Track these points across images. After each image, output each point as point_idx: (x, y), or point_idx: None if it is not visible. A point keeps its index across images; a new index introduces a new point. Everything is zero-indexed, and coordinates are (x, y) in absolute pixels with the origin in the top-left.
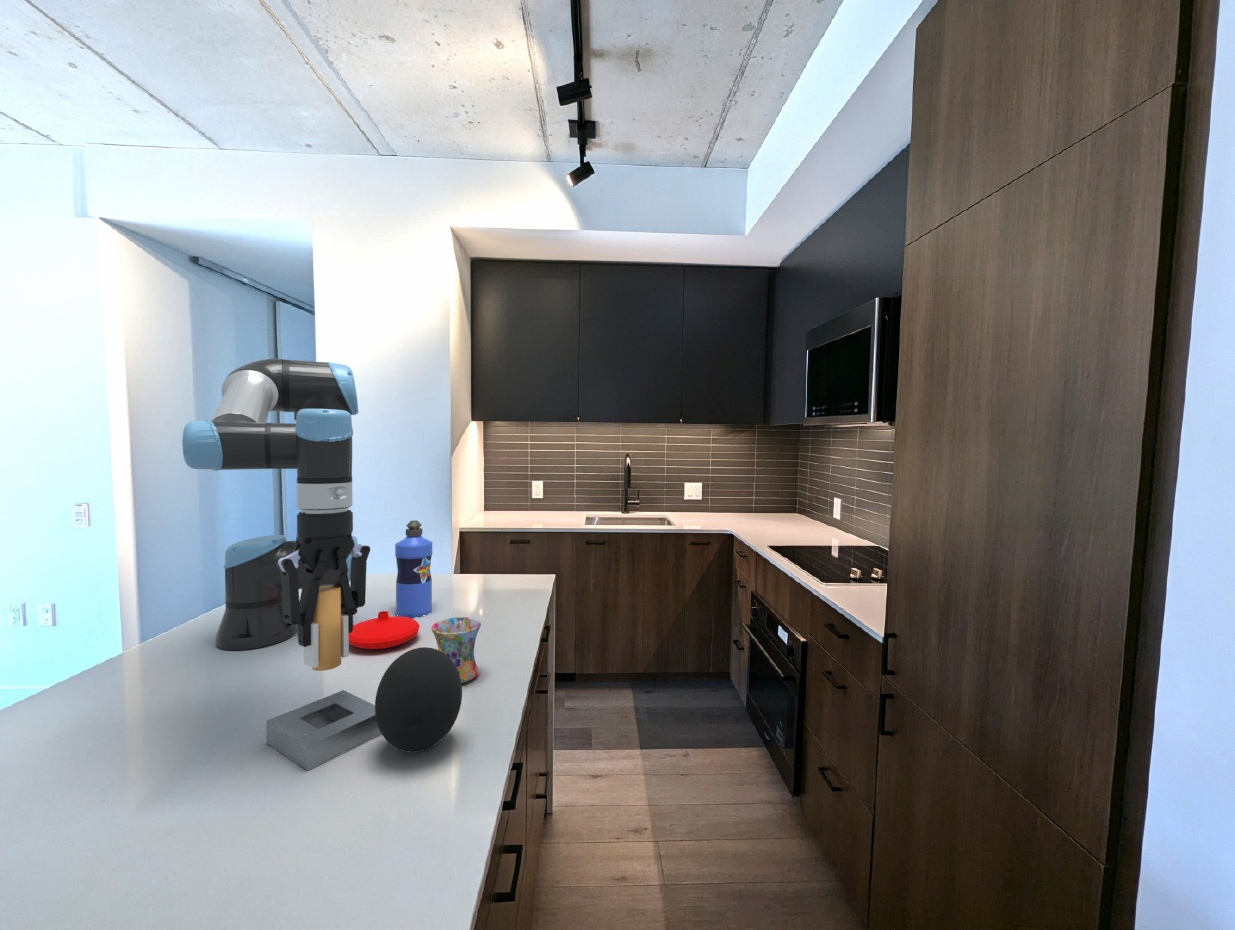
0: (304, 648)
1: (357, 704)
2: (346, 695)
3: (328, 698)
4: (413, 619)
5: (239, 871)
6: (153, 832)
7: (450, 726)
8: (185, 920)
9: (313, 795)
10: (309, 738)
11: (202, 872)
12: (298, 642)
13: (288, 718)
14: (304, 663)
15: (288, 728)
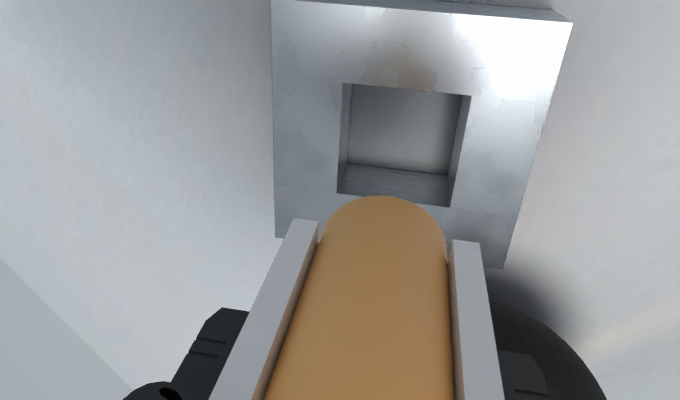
0: (271, 271)
1: (496, 171)
2: (537, 79)
3: (489, 38)
4: None
5: (125, 313)
6: (37, 126)
7: None
8: (66, 323)
9: (259, 274)
10: (297, 211)
11: (89, 276)
12: (207, 323)
13: (321, 53)
14: (293, 221)
15: (290, 114)
